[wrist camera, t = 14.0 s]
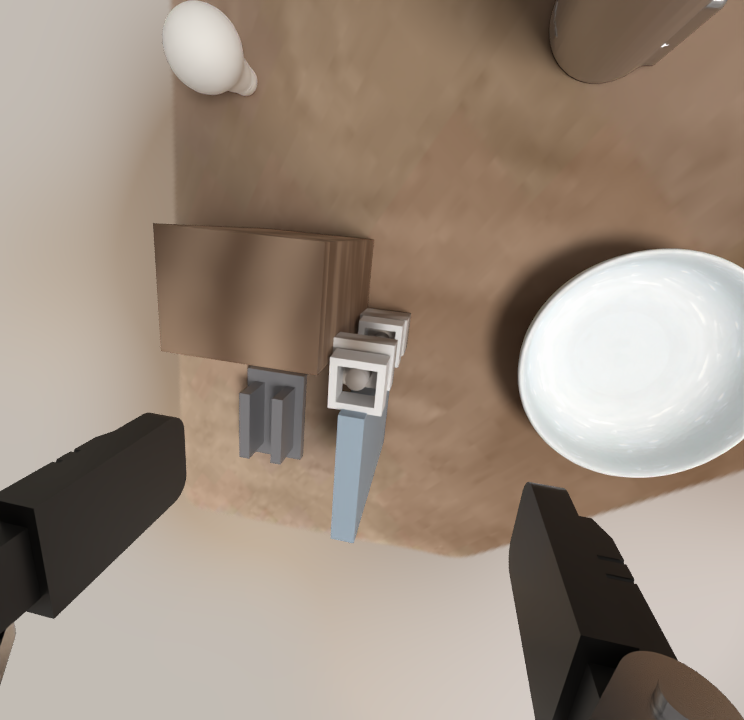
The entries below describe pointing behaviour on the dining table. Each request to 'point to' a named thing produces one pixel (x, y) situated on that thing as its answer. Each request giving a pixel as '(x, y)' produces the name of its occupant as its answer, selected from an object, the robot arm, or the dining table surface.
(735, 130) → the dining table surface
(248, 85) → the lightbulb
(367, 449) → the cabinet door
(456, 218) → the dining table surface
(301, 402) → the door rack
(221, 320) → the cabinet
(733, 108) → the dining table surface
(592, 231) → the dining table surface
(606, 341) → the serving bowl
